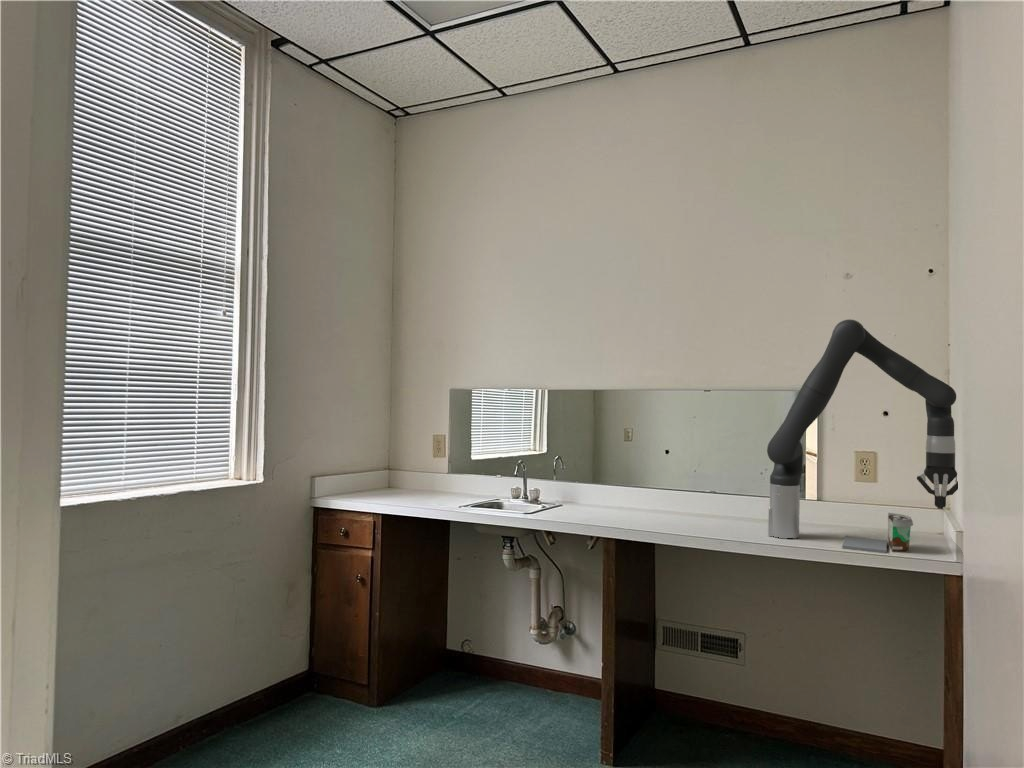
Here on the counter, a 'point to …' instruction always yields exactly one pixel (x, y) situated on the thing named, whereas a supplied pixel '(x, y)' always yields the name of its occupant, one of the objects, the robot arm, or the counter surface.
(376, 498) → the counter surface
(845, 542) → the mat
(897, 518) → the food container
